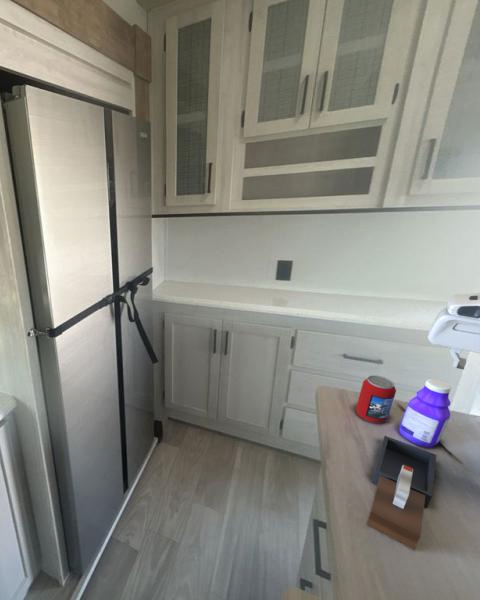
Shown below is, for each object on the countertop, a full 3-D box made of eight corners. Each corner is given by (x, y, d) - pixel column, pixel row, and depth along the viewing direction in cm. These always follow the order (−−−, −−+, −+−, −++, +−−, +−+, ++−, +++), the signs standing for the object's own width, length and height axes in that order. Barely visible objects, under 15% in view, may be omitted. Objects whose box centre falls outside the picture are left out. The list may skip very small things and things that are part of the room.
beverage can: (374, 427, 89) (385, 391, 84) (349, 411, 95) (358, 377, 91) (392, 421, 90) (404, 385, 86) (367, 405, 96) (376, 371, 92)
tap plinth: (414, 550, 62) (420, 536, 61) (366, 524, 67) (371, 511, 66) (419, 508, 69) (425, 495, 67) (375, 488, 74) (380, 475, 72)
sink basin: (381, 446, 84) (384, 435, 82) (431, 466, 77) (436, 454, 76) (371, 482, 75) (374, 471, 74) (427, 508, 69) (432, 496, 67)
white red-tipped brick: (403, 509, 65) (409, 494, 64) (392, 503, 66) (398, 489, 65) (408, 482, 70) (413, 468, 69) (397, 478, 71) (403, 463, 70)
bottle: (442, 444, 82) (466, 387, 76) (429, 453, 80) (452, 395, 74) (406, 425, 88) (425, 371, 82) (393, 433, 87) (411, 378, 80)
